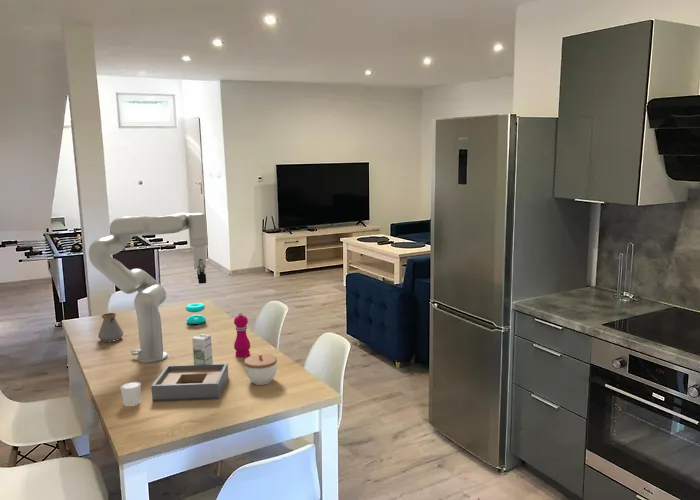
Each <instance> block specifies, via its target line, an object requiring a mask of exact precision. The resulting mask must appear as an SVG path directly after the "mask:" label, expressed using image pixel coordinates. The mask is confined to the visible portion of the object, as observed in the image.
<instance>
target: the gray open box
mask: <svg viewBox="0 0 700 500" xmlns="http://www.w3.org/2000/svg"><path fill="white" fill-rule="evenodd" d="M228 366H229V365H228V363H213V364H194V363H193V364H174V365H173V364H172V365H171V364H170V365H166V366H165V368H164V369H163V370H162V372H161V373H160V374H159V375H158V377H157V378H156V379H155V380H154V381H153V383H152V384H151V385H150V386H151V397H152V400H151V401H152V402H171V401H172V402H175V401H177V402H178V401H199V400H201V401H203V400H205V401H206V400H219V399H220V397H221V395H222V393H223V390H224V388H225V386H226V384H227V382H228V379H229V367H228Z"/></svg>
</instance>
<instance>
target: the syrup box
mask: <svg viewBox="0 0 700 500" xmlns="http://www.w3.org/2000/svg"><path fill="white" fill-rule="evenodd" d="M212 347H213V346H212V335H211V334H202V333H199V334H197V335H195V336H193V337H192V353H193V354H192V355H193V365H194V364H214V361H213V348H212Z"/></svg>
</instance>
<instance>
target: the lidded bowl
mask: <svg viewBox="0 0 700 500" xmlns="http://www.w3.org/2000/svg"><path fill="white" fill-rule="evenodd" d="M277 363H278V358H277V357H276V356H275V355H273V354H268V353H259V354H254V355H249V356H248V357H245V359H244V370H245V374H246V376H247V378H248V379H249V381H250V382H252V384H253V385H257V386H264V385H267V384H269V383H271V382H272V380H273V379H274V378H275V376H276V373H277V368H278V364H277Z"/></svg>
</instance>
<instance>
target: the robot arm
mask: <svg viewBox="0 0 700 500" xmlns="http://www.w3.org/2000/svg"><path fill="white" fill-rule="evenodd" d="M109 230H110V234H109V235H107V236H103V237H100V238H97V239H95V240H94V241H93V242H92V243H91V244H90V245H89V248H88V258H89V261H90V263H91V264H92V266H93V267H94V268H95V269H96V270H97V271H99V272H100V273H101V274H102V275H103V276H105V277H106V279H108V281H110V282H111V283H112V284H113V285H114V286H116V287H117V289H119V290H120V291H121V292H123V293H124V294H126V295H127V294H128V295H131V294H133V293H134V294H135V293H136V292H137V294H136V295H135V297H134V301H133V303H134V309H135V313H136V317H137V326H138V337H139V348H138V349H136V348H135V349H134V348H133V349H131V350H130V353H131V355H132V356H137V358H136V360H137V362H139V363H141V364H151V363H157V362H161V361H163V360H165V359H167V357H168V353H167V352H166V351H164V345H163V332H162V321H161V313H160V311H159V306H160V305H161V304H163V303H164V302H165V300H166V299H167V292H166V290H165V288H164V287H163V285H161V284H160V283H159V282H158V281H157V280H156V279H155V278H154V277H152V275H150V274H149V273H148V272H146V271H145V270H143V269H142V268H132V269H129V268H127V267H126V266H125V265H124V264H123V263H122V262H121V261H119V260H118V259H116V258H113V257H112V256H113V255H116V254H118V253H120V252H121V251H122V250H124V248H125V247H126V246H127V245H128V244H129V242H130V241H131V240H132V238H133V237H139V236H153V235H157V236H158V235H167V234H176V233H180V232H182V231H186V230H188V237H189V246H190V247H192V259H193V267H194V270H196V273H197V279H198V284H199V285H200V284H201V285H203V284H206V283H207V273H206V269H207V252H206V251H207V250H206V249H207V248H206V246H209V239H208V225H207V215H206V213H204V212H194V213H188V212H187V213H186V212H178V213H174V214H171V215H165V216H164V215H162V216H150V215H147V214H146V215H136V216H130V215H127V216H122V217H121V216H120V217H117V218H115V219H113V220H112V221H111V223H110V225H109Z"/></svg>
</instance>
